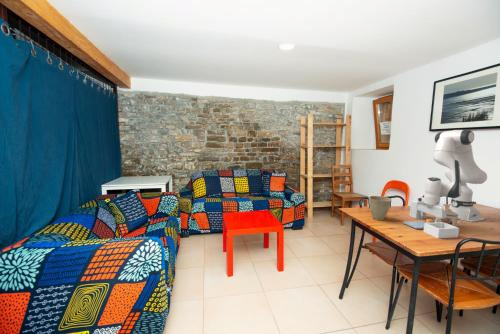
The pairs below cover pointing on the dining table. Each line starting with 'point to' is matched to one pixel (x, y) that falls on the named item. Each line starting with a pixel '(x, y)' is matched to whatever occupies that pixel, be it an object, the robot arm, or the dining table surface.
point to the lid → (418, 223)
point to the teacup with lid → (451, 218)
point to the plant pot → (379, 206)
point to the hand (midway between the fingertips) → (429, 220)
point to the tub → (441, 230)
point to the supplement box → (415, 211)
